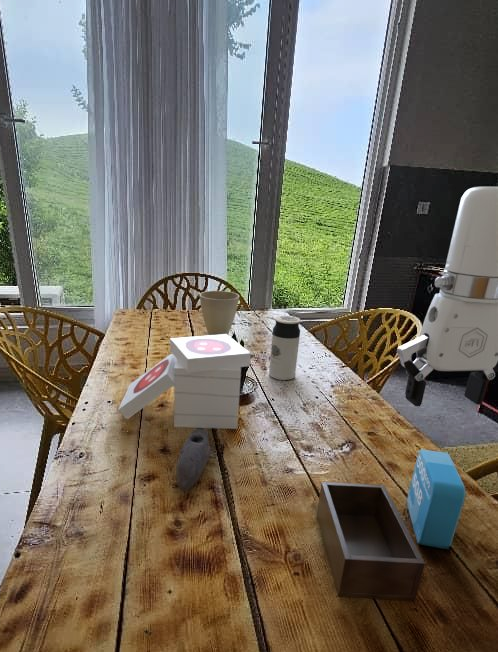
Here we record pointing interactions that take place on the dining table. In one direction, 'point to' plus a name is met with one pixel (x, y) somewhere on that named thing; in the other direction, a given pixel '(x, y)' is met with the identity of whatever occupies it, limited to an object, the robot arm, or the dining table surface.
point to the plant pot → (218, 310)
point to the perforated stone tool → (192, 459)
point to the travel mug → (284, 347)
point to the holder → (368, 543)
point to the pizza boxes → (194, 382)
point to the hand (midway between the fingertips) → (442, 401)
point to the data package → (435, 499)
